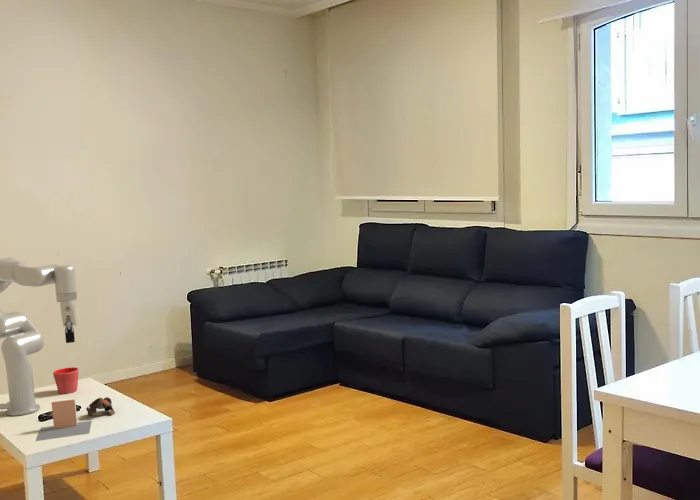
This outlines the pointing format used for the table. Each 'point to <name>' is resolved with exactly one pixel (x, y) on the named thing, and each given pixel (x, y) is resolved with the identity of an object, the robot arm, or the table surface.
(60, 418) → the tile
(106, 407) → the broken clay vessel
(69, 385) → the flower pot
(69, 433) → the mat
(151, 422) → the table surface
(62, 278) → the robot arm
